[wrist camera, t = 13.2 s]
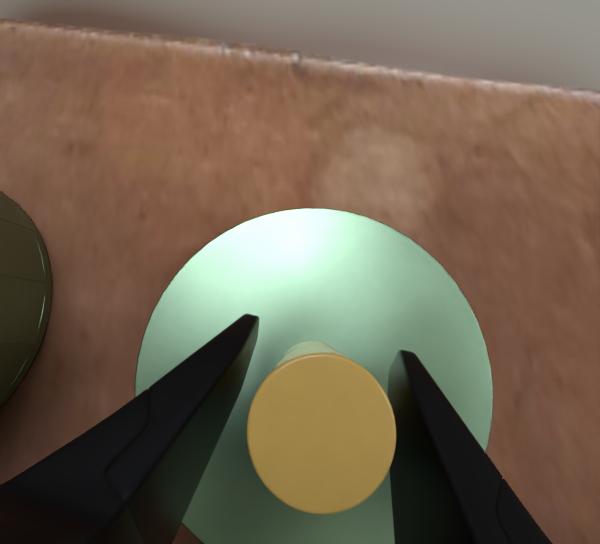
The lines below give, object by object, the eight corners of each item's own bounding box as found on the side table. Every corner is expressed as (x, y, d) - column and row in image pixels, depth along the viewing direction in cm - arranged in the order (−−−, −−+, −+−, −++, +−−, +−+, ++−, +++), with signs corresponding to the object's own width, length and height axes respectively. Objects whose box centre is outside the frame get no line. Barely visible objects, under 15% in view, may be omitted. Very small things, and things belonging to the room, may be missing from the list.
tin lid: (453, 607, 11) (760, 1174, 4) (101, 508, 12) (-242, 810, 4) (495, 252, 14) (728, 156, 6) (201, 189, 14) (88, 36, 7)
